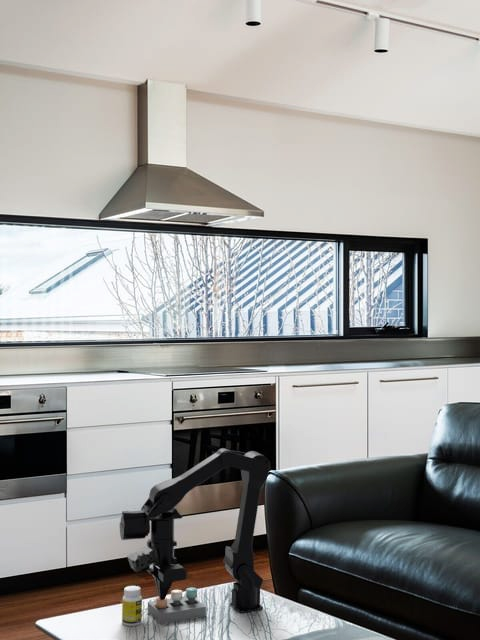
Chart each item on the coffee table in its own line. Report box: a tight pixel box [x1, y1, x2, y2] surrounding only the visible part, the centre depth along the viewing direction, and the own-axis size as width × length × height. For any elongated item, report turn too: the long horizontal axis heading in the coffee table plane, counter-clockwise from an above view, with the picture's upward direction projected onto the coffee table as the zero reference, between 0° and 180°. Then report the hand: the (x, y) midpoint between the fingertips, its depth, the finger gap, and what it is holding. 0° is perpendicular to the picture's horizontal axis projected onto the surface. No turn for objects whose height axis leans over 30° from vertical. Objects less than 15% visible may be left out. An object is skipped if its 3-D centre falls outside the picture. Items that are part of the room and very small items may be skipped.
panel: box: [147, 595, 207, 625], centre depth 214 cm, size 12×9×2 cm
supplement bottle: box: [121, 585, 143, 627], centre depth 208 cm, size 5×5×8 cm
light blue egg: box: [185, 587, 198, 605], centre depth 216 cm, size 3×3×4 cm
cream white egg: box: [170, 589, 183, 607], centre depth 214 cm, size 3×3×4 cm
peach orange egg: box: [155, 597, 168, 609], centre depth 212 cm, size 3×3×4 cm
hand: (162, 599), depth 212 cm, fingers closed, pressing on peach orange egg
